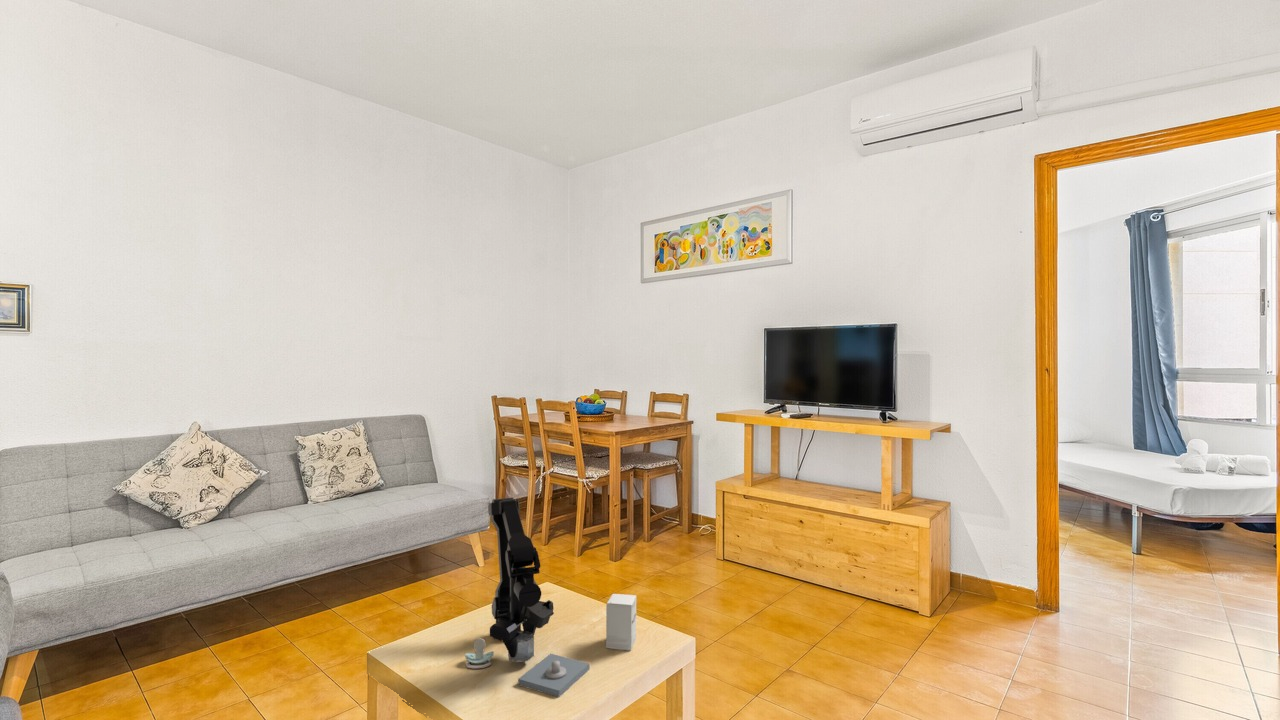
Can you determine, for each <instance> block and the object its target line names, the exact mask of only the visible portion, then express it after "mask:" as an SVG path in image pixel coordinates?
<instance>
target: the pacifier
mask: <svg viewBox="0 0 1280 720" xmlns="http://www.w3.org/2000/svg"><path fill="white" fill-rule="evenodd" d="M485 648H486V641H485V639H483V638H481V637H479V638H476V640H475V641H474V643H473V649H474V650H475V651H474V652H475V653H471V652H467V653H465V654H464V657H465V659H466V661H468V662H467V663H466V664H465V667H466V668H468V669H472V670H478V669H479V670H480V669H485V668H487V667H489V666H491V665H492V661H491V660H490V659H491V658H493V656H494V654H495V651H493V650H492V651H489V652H486V653H485Z"/></svg>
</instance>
